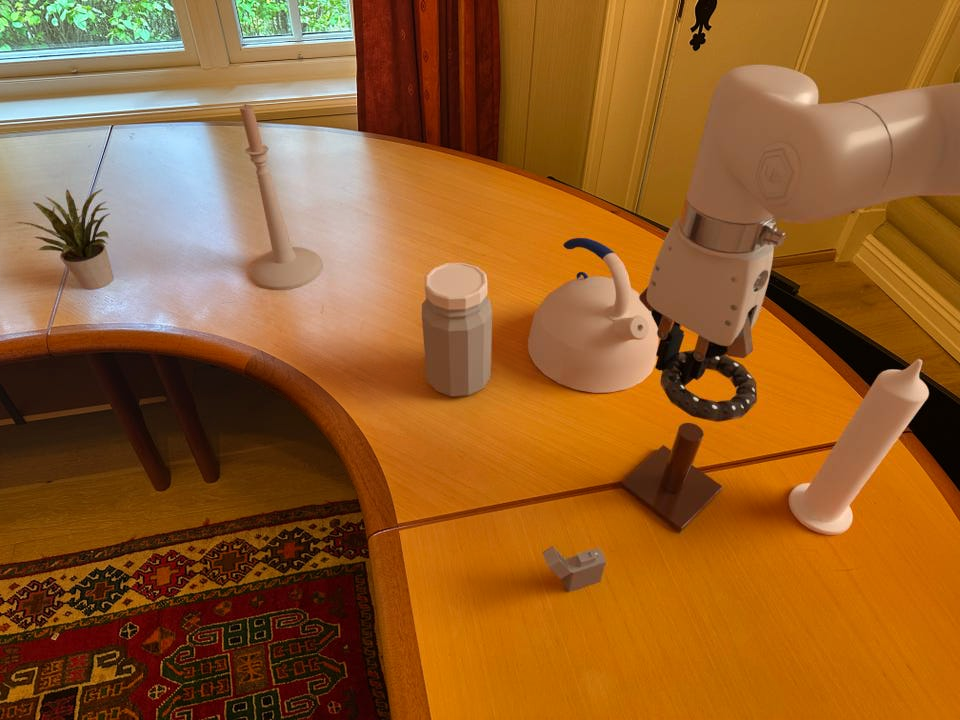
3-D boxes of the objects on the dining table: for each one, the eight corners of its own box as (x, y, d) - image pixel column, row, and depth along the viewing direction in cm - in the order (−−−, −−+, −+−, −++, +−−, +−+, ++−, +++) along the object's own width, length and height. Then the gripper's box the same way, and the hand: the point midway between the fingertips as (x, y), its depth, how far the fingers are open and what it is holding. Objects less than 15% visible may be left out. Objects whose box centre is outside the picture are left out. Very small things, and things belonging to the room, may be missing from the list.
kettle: (569, 412, 86) (584, 312, 74) (505, 327, 100) (509, 231, 87) (684, 372, 92) (716, 273, 80) (609, 297, 106) (626, 203, 94)
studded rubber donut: (770, 393, 64) (777, 379, 62) (721, 440, 59) (726, 427, 58) (692, 347, 69) (696, 334, 68) (641, 387, 64) (644, 374, 63)
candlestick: (336, 268, 112) (305, 103, 92) (276, 298, 105) (228, 127, 85) (297, 243, 119) (259, 83, 98) (238, 270, 112) (185, 104, 91)
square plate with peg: (721, 491, 76) (747, 434, 69) (679, 533, 72) (703, 477, 64) (661, 449, 81) (680, 391, 74) (619, 486, 77) (634, 429, 69)
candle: (777, 488, 76) (863, 338, 59) (830, 483, 77) (930, 333, 60) (806, 538, 71) (908, 389, 54) (862, 532, 72) (981, 383, 55)
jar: (436, 408, 86) (429, 308, 74) (418, 364, 93) (410, 265, 81) (500, 392, 89) (504, 293, 76) (478, 350, 95) (479, 253, 83)
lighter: (594, 567, 68) (604, 528, 63) (601, 581, 67) (612, 543, 62) (536, 586, 67) (541, 548, 61) (542, 601, 65) (548, 563, 60)
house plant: (159, 257, 115) (125, 176, 104) (132, 300, 105) (91, 216, 94) (82, 258, 114) (40, 177, 103) (47, 303, 104) (-4, 218, 93)
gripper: (834, 243, 51) (763, 394, 63) (673, 177, 59) (638, 321, 72) (790, 277, 47) (724, 431, 60) (625, 201, 56) (597, 349, 68)
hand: (677, 370), depth 66 cm, fingers closed on studded rubber donut, 2 cm apart
